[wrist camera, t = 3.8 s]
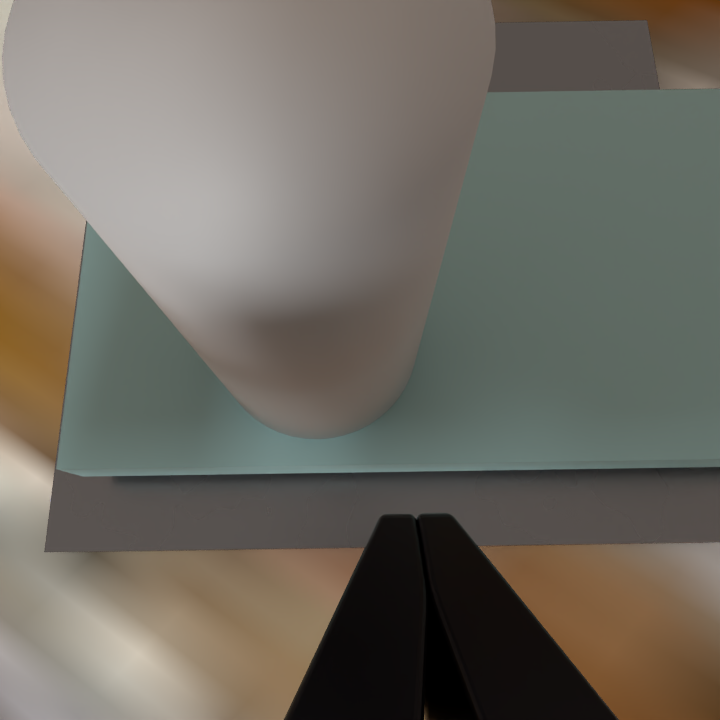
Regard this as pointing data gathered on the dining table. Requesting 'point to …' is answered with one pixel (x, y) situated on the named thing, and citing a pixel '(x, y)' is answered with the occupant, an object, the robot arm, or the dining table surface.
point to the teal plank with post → (367, 244)
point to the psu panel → (421, 488)
